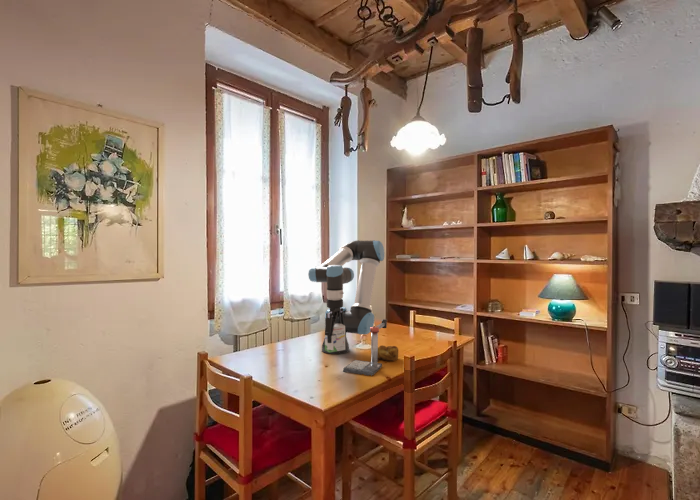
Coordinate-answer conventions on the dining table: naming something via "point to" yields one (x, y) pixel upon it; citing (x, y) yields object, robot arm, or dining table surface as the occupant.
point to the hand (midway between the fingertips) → (335, 346)
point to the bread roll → (388, 353)
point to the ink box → (337, 338)
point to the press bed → (365, 366)
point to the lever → (379, 326)
